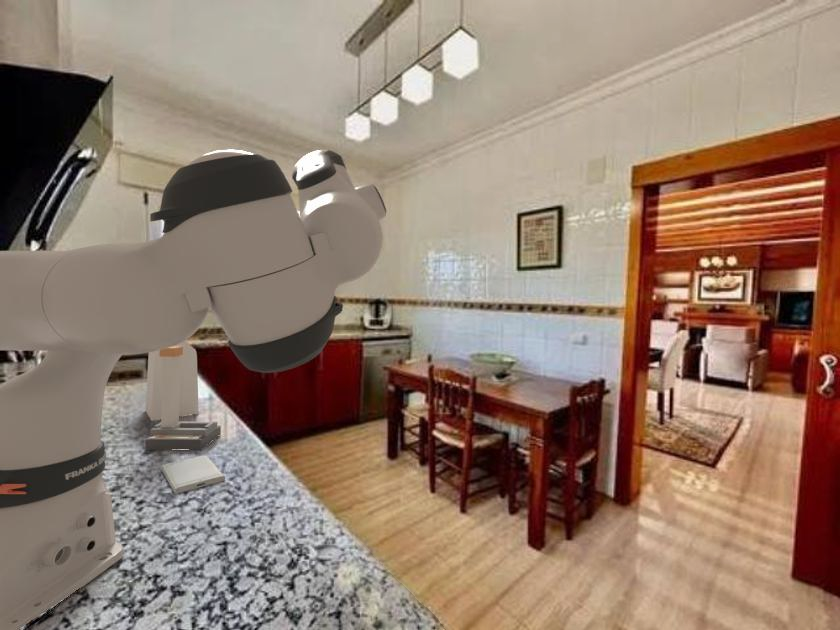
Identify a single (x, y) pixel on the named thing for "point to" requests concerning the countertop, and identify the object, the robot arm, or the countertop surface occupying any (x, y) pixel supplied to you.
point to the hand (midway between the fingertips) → (261, 251)
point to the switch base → (183, 436)
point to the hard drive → (191, 473)
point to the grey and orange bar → (170, 386)
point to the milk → (187, 383)
